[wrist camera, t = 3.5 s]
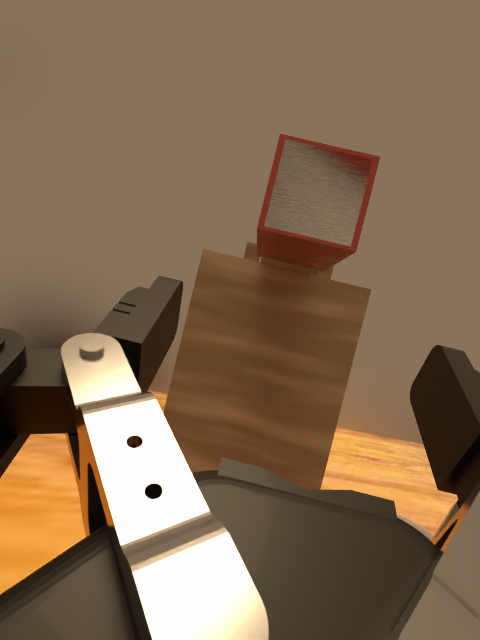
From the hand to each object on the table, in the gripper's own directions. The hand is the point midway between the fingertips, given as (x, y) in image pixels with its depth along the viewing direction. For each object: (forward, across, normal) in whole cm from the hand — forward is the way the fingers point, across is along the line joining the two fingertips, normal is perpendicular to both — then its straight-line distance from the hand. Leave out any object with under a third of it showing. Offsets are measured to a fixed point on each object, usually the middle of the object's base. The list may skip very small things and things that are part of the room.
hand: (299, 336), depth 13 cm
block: (+20, 0, +7) cm, 22 cm away
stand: (+5, 0, +36) cm, 36 cm away
